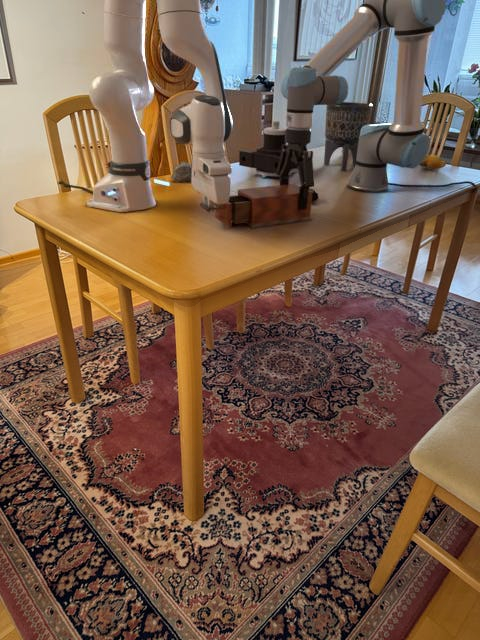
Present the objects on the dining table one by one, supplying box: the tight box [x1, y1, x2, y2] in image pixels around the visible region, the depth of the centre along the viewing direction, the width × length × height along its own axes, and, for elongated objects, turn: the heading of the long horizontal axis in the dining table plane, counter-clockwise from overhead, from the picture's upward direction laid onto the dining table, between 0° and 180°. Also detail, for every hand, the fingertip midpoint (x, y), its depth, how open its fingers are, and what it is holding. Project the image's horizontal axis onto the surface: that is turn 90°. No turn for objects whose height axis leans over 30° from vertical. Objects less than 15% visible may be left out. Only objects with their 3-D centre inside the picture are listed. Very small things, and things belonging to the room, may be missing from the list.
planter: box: [323, 101, 374, 172], centre depth 204 cm, size 20×20×26 cm
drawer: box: [199, 194, 252, 228], centre depth 135 cm, size 24×10×7 cm, turn 115°
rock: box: [170, 161, 193, 183], centre depth 180 cm, size 13×9×6 cm, turn 131°
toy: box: [418, 154, 447, 171], centre depth 211 cm, size 11×6×15 cm
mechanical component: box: [238, 120, 303, 178], centre depth 191 cm, size 22×21×30 cm
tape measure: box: [309, 188, 319, 202], centre depth 158 cm, size 7×7×4 cm
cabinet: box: [237, 183, 313, 228], centre depth 139 cm, size 20×11×9 cm, turn 115°
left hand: (209, 211), depth 131 cm, fingers closed, pressing on drawer
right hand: (292, 204), depth 142 cm, fingers closed on cabinet, 11 cm apart
